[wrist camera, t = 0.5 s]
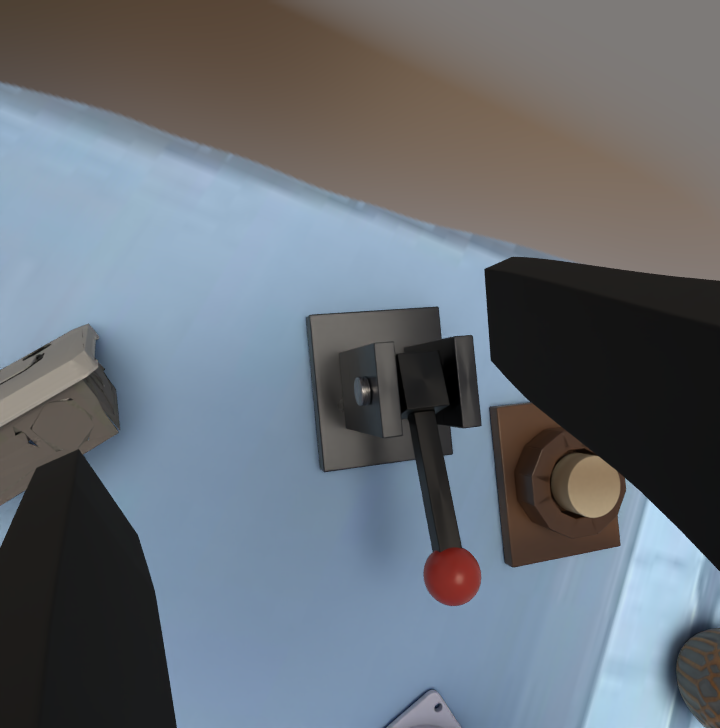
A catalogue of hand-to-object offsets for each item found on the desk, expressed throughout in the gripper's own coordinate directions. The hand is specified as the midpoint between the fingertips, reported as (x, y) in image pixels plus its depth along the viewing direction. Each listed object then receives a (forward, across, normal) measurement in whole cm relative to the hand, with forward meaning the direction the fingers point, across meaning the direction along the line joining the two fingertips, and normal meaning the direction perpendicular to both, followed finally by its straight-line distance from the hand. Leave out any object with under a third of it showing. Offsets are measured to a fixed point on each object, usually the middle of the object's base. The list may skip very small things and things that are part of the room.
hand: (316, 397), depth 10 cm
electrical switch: (+22, +9, +11) cm, 26 cm away
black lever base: (+18, -8, +16) cm, 25 cm away
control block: (+12, -16, +24) cm, 32 cm away
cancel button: (+10, -16, +23) cm, 30 cm away
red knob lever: (+10, -6, +16) cm, 20 cm away
